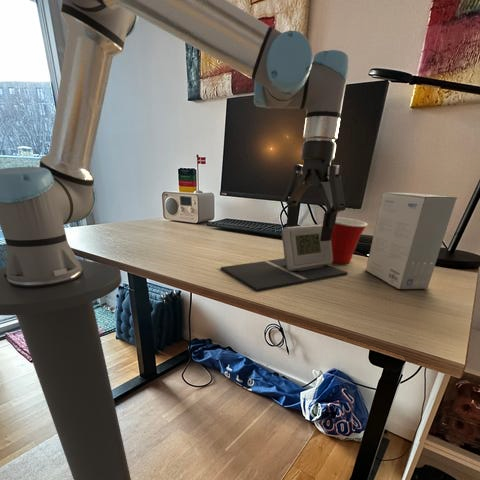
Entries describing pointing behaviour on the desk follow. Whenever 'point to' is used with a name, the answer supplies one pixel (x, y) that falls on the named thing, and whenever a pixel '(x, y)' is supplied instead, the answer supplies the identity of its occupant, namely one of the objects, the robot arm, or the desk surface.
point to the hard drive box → (409, 238)
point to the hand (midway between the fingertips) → (306, 235)
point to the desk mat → (277, 274)
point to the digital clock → (305, 248)
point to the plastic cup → (345, 238)
